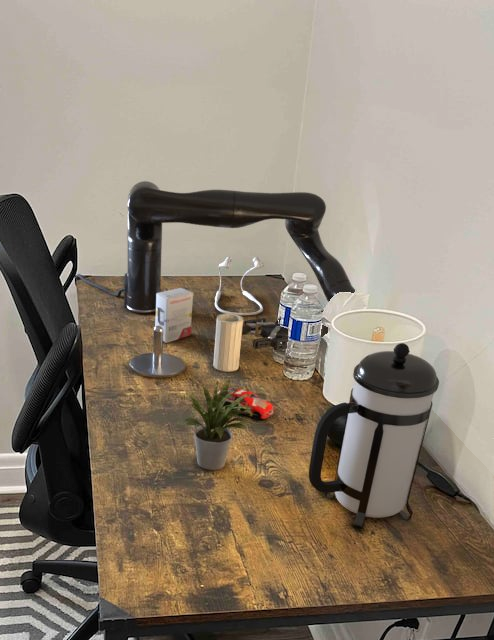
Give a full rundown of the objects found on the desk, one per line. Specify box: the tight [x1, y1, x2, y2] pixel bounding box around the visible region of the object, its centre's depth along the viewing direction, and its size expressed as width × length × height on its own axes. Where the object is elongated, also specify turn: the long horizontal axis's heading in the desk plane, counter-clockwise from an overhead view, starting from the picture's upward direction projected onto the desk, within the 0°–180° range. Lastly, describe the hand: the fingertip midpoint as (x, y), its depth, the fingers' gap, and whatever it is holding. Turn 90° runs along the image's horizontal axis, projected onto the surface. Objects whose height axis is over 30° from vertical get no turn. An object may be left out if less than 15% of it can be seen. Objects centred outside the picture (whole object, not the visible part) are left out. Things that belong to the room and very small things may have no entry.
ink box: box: [154, 287, 194, 344], centre depth 186 cm, size 9×5×12 cm, turn 129°
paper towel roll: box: [212, 313, 244, 372], centre depth 172 cm, size 6×6×12 cm
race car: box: [217, 387, 275, 421], centre depth 155 cm, size 13×5×4 cm, turn 57°
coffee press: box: [308, 342, 440, 530], centre depth 118 cm, size 17×16×30 cm
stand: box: [129, 326, 186, 379], centre depth 171 cm, size 13×13×10 cm
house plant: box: [176, 378, 256, 471], centre depth 132 cm, size 14×14×16 cm
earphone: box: [214, 256, 265, 317], centre depth 210 cm, size 14×17×18 cm
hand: (243, 337), depth 173 cm, fingers open, 8 cm apart
